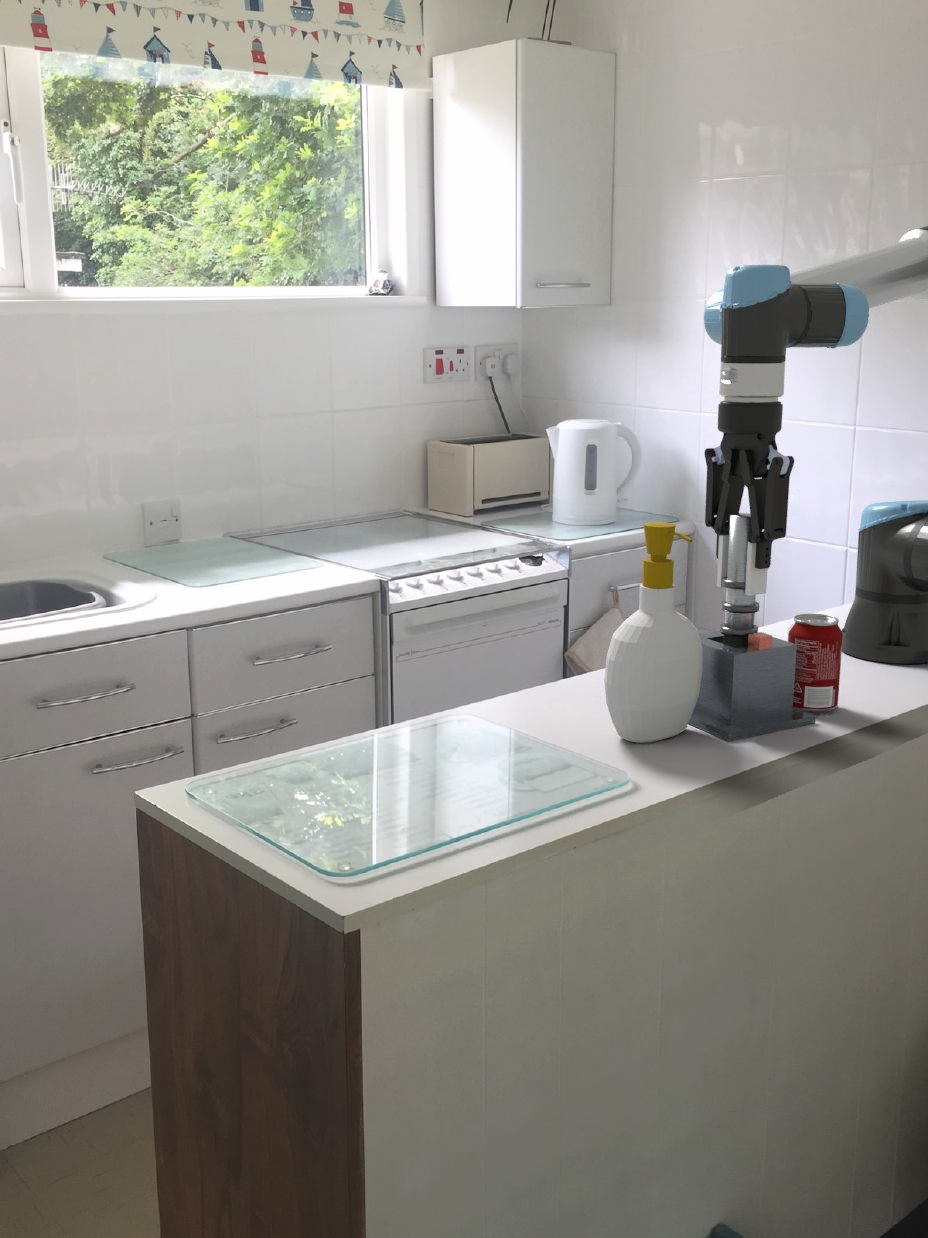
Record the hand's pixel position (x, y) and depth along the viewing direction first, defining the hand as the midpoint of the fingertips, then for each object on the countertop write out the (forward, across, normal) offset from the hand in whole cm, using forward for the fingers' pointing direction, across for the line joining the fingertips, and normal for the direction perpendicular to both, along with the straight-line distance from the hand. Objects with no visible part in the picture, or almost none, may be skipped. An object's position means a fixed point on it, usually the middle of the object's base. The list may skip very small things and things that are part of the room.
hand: (741, 589), depth 150 cm
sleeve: (+16, 0, 0) cm, 16 cm away
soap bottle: (+17, +1, -14) cm, 22 cm away
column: (+11, 0, 0) cm, 11 cm away
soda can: (+17, +2, +11) cm, 20 cm away
